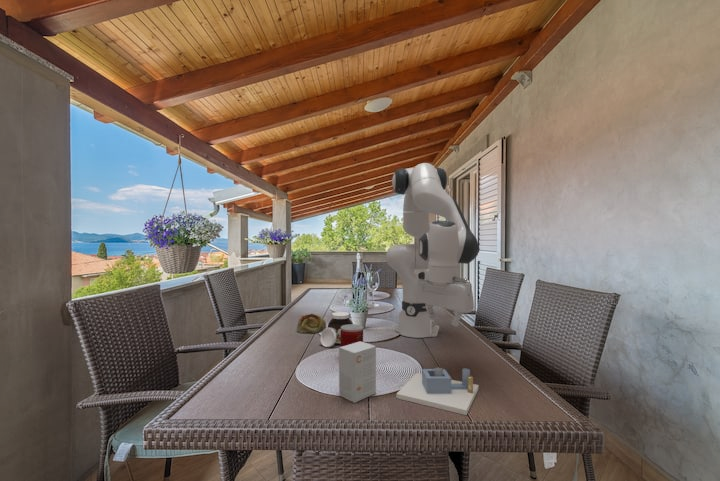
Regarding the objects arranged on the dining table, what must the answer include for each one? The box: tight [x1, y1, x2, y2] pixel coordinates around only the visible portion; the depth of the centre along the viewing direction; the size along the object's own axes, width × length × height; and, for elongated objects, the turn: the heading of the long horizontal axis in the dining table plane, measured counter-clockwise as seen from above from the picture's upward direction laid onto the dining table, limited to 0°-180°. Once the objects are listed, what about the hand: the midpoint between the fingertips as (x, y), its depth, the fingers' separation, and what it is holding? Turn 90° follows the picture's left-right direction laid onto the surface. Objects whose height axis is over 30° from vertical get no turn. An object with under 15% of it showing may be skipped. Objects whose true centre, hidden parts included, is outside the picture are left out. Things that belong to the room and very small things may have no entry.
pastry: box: [296, 313, 327, 334], centre depth 157 cm, size 14×12×8 cm
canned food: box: [339, 323, 364, 347], centre depth 121 cm, size 8×8×11 cm
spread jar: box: [320, 311, 354, 348], centre depth 137 cm, size 12×11×12 cm
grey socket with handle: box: [421, 367, 471, 394], centre depth 95 cm, size 12×6×5 cm, turn 91°
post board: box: [396, 366, 479, 416], centre depth 94 cm, size 16×18×7 cm
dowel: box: [467, 375, 474, 393], centre depth 93 cm, size 1×1×4 cm
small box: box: [338, 341, 377, 404], centre depth 94 cm, size 8×6×13 cm
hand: (442, 322), depth 103 cm, fingers open, 8 cm apart
